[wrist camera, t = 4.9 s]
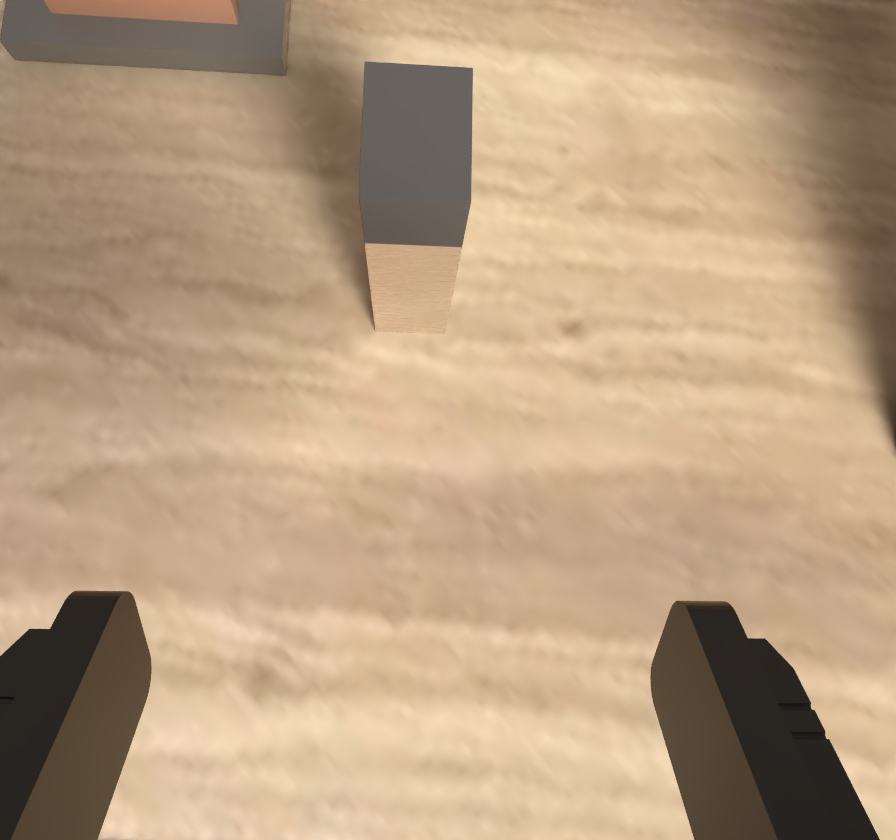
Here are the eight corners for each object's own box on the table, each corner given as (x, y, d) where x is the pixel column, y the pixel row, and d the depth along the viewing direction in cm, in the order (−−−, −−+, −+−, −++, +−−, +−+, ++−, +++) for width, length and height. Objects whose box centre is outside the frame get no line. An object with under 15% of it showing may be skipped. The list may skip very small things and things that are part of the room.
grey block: (446, 246, 32) (472, 68, 20) (444, 333, 31) (470, 201, 19) (378, 244, 32) (364, 61, 20) (375, 331, 31) (359, 195, 19)
